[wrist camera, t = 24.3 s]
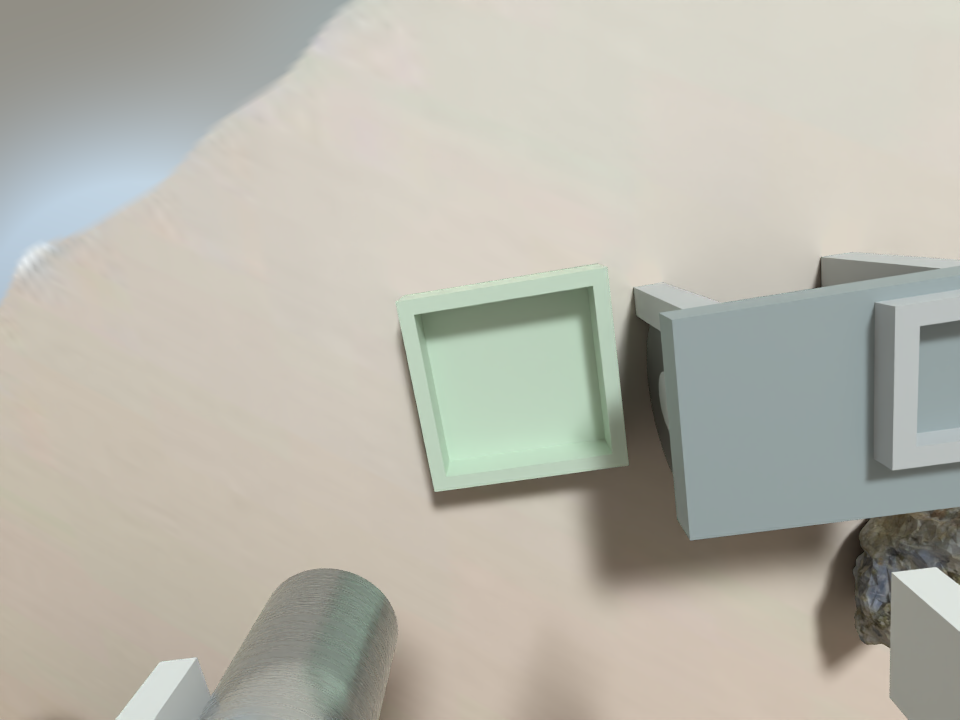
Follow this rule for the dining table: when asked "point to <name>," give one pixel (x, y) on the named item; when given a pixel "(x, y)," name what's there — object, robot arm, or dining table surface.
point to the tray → (516, 377)
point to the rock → (900, 562)
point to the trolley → (810, 396)
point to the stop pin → (312, 654)
